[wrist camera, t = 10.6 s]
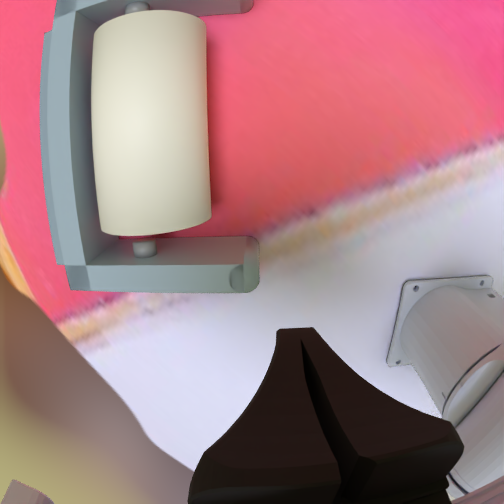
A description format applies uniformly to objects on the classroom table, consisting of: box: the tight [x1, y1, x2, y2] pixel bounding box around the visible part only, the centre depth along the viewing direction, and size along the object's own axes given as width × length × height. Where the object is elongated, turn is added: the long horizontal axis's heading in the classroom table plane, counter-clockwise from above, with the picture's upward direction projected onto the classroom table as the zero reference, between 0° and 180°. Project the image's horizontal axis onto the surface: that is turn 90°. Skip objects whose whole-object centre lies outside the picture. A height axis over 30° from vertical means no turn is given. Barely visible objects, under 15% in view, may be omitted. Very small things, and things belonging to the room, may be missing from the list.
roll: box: [91, 10, 212, 236], centre depth 15 cm, size 12×6×6 cm, turn 1°
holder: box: [40, 0, 260, 293], centre depth 16 cm, size 15×18×5 cm
